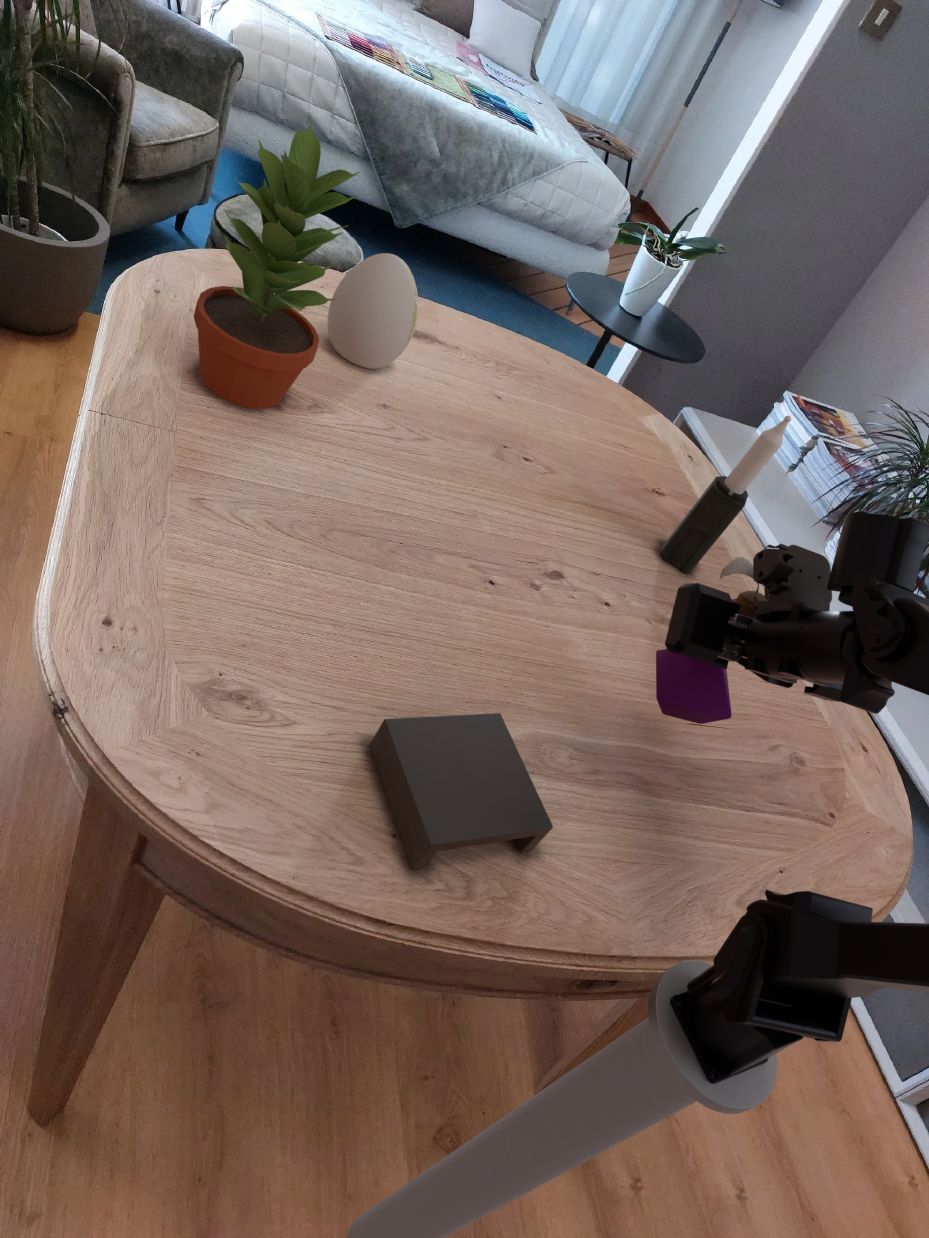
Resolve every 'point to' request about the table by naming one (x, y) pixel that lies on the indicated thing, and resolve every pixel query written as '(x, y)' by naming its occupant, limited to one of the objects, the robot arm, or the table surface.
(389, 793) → the shelf
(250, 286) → the potted plant
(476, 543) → the table surface
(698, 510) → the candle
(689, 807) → the table surface
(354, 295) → the decorative egg
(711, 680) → the perfume bottle
